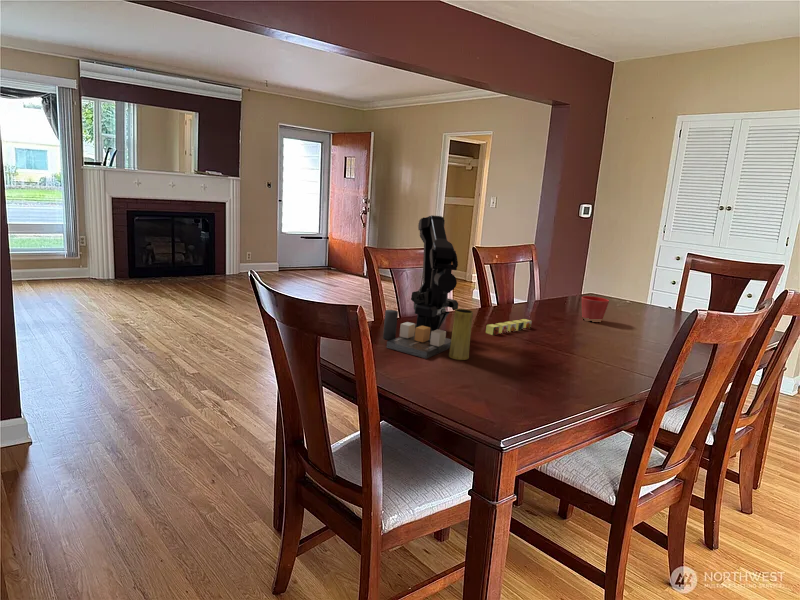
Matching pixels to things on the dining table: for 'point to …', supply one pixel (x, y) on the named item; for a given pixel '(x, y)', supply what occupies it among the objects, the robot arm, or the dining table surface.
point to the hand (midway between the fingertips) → (434, 332)
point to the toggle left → (407, 330)
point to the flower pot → (594, 307)
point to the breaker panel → (417, 346)
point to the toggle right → (438, 337)
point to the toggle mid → (422, 333)
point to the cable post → (390, 324)
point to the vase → (461, 334)
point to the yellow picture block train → (507, 326)
